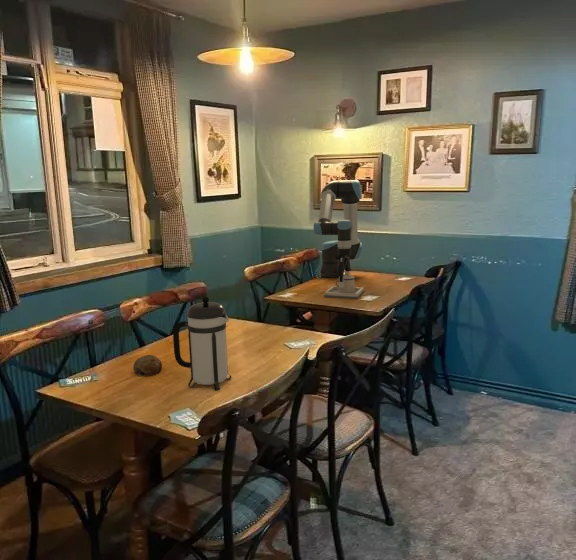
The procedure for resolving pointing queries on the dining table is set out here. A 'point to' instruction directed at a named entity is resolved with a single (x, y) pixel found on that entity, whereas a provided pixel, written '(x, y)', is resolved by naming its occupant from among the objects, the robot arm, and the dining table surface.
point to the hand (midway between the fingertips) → (344, 284)
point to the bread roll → (147, 366)
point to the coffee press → (205, 343)
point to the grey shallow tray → (335, 293)
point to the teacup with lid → (347, 284)
